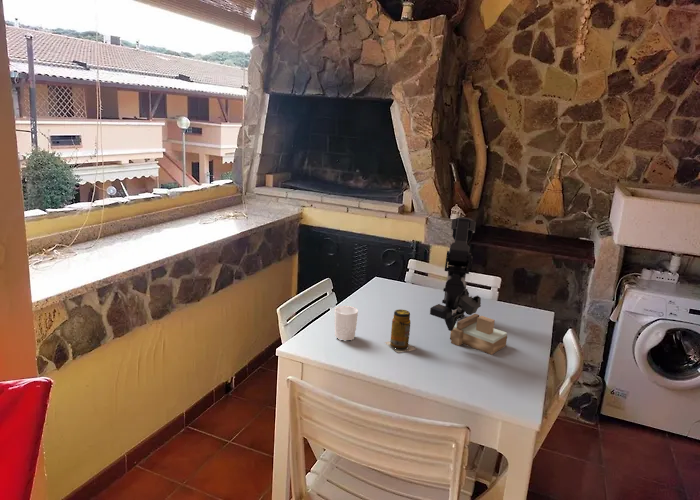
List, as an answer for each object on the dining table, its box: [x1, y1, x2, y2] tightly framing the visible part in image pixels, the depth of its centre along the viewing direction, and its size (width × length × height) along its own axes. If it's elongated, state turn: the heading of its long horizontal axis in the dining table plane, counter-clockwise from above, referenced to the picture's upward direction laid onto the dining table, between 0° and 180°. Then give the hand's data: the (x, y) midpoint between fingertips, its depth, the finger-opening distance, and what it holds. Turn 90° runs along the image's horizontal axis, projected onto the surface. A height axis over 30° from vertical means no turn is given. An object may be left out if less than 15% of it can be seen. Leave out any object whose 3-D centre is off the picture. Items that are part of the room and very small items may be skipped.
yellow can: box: [384, 308, 417, 353], centre depth 171 cm, size 7×8×12 cm
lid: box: [453, 315, 508, 343], centre depth 177 cm, size 16×10×6 cm, turn 47°
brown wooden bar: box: [456, 313, 480, 329], centre depth 180 cm, size 2×12×2 cm, turn 137°
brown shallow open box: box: [449, 328, 508, 356], centre depth 178 cm, size 16×15×5 cm
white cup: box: [334, 305, 359, 341], centre depth 176 cm, size 8×8×10 cm
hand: (450, 330), depth 172 cm, fingers closed
